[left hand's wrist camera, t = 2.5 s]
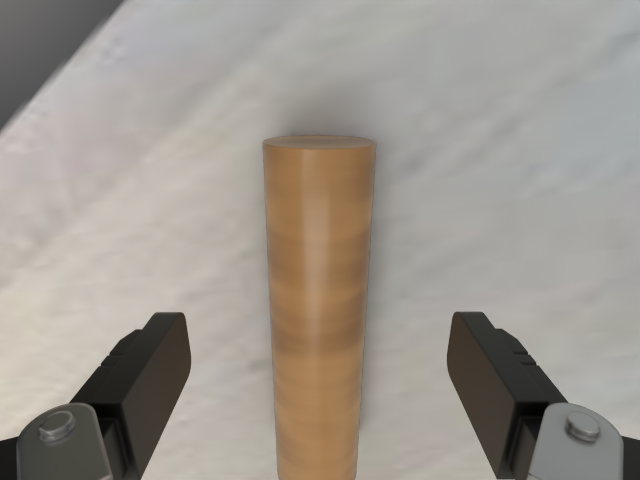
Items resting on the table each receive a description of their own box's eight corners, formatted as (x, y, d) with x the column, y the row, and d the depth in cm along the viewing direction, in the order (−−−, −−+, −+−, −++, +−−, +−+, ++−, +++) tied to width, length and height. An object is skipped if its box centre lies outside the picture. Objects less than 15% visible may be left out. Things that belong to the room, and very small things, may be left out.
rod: (270, 134, 23) (253, 148, 18) (369, 135, 23) (384, 149, 18) (281, 432, 32) (272, 505, 26) (353, 433, 32) (360, 506, 26)
